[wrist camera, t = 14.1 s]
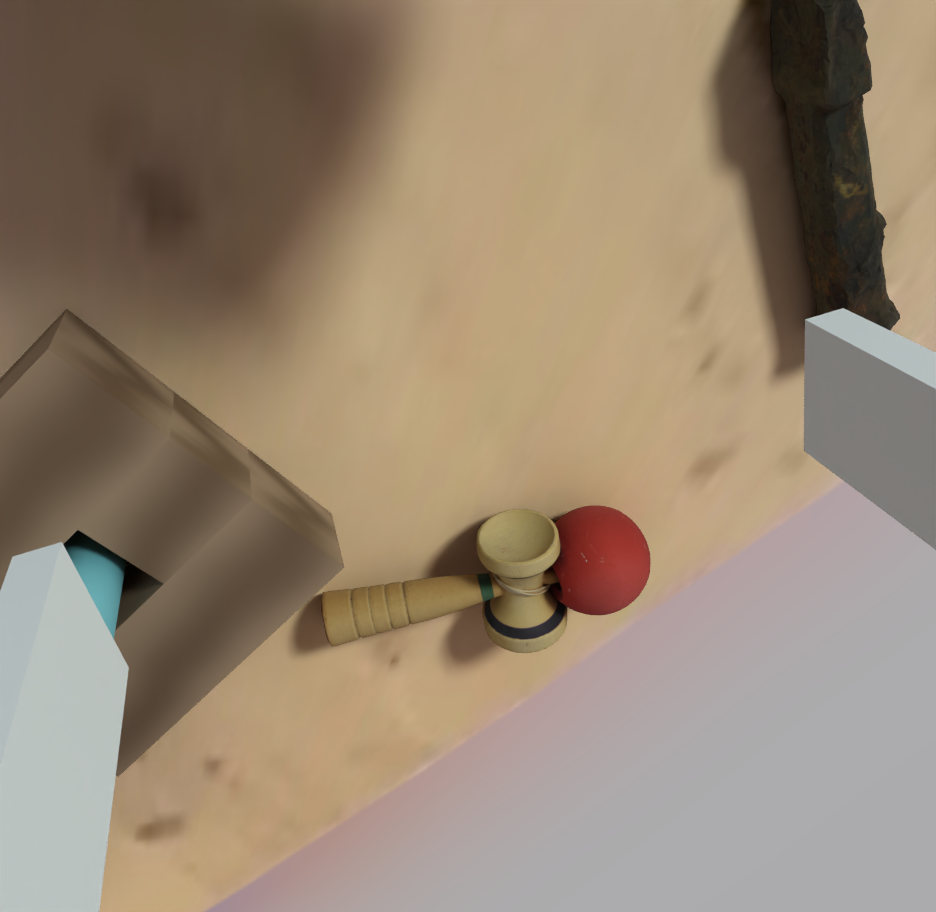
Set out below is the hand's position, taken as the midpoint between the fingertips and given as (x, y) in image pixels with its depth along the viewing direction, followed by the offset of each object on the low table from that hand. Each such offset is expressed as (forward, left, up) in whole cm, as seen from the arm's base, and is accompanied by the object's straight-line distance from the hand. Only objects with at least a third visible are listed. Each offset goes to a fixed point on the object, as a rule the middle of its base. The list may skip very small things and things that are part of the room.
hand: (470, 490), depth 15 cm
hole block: (+4, -19, -27) cm, 33 cm away
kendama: (+21, -8, -27) cm, 35 cm away
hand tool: (+16, +18, -27) cm, 36 cm away
